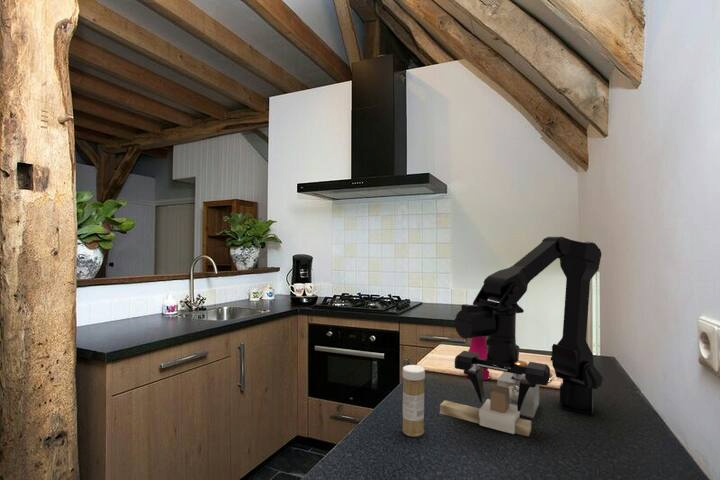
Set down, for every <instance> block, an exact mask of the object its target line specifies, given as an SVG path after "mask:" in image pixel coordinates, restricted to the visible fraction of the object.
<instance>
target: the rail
mask: <svg viewBox="0 0 720 480" xmlns="http://www.w3.org/2000/svg"><path fill="white" fill-rule="evenodd" d="M479 409H480V408H479V407H476V406H470V405H466V404H461V403H457V402H453V401H450V400H445V399H444V400H443V402H441V403H440V404H439V414H440V415H444V416H448V417H451V418H456V419H460V420H463V421H468V422H471V423H475V424H479V425H480V417H479ZM531 432H532V420H529V419H524V418H520V417H519V418H517V420H516V422H515V433H514V434H518V435H521V436H525V437H530V434H531Z"/></svg>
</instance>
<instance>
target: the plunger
mask: <svg viewBox="0 0 720 480" xmlns="http://www.w3.org/2000/svg"><path fill="white" fill-rule="evenodd" d="M515 364H517V365H523V366H527V364H528V362H526V361H523V360H518V361H517V362H515ZM522 378H523V377H522V375H520V374H514V373H513V379H514V380H519V381H521V380H522Z"/></svg>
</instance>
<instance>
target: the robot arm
mask: <svg viewBox="0 0 720 480" xmlns="http://www.w3.org/2000/svg"><path fill="white" fill-rule="evenodd" d="M601 258H602V250H601V248H600V247H598V244H596V243H595V242H591V241H583V242H582V241H578V240H573V239H570V238H567V237H564V236H546V237H545V238H543V239H542V241H541V242H540V243H539V244H538V245H537V246H535V247H533V248H532V250H531V251H529V252H528V253H526V254H525V255H524V256H523V257H522V258H520V259H519V260H518V261H516V262H515V263H514V264H513V265H511V266H510V267H507V268H504V269H500V270H497V271H496V272H494V273H491V274H490V275H488V276H487V277H486V278H485V279H484V281H483V285H482V287H481V288H480V290H479V291H478V293H477V295H476V297H475V299H474V300H473V302H472V304H466V303H465V304H461V309H460V311H458V312H457V313H456V316H455V319H454V327H455V331H456V333H457V335H458V336H459V337H460V338H461V339H465V340H466V339H472V338H476V337H484V336H486V350H487V359H482V358H479V354H478V353H475V352H469V350H462V351H461V352H460V353H459V354H457V355H456V356H455V357H454V369H456V370H461V371H463V374H464V375H466V376H467V375H468V376H469V377H468V376H467V377H468V378H469V380H470V381H471V384H472V385H473V387H474V390H475V393H476V396H477V397H478V400H479V402H480V403H481V404H484V401H485V400H484V399H485V391H484V390H485V389H484V380H483V368H487V370H494V371H497V372H498V371H499V372H502V373H503V372H509V373H514V374H520V375H522V377H523V378H522V380H521V381H520V384H519V394H518V403H517V409H518V411H519V412H520V410H521V407H522V404H523V402H524V399H525V396H526V394H527V391H528V389H529V388H530V387H533V388H534V387H536V385H537V384H538V385H539V386H547V385H548V384H549V383H548V381H549V378H550V372H551V368H550V366H549V365H548V364H546V363H542V362H541V363H539V362H535V361H529V362H528V363H527V364H528V365H527V366H523V365H517V364H515V362H517V361H518V360H519V358H520V357H519V356H520V346H519V345H518V344H517V343H516V342H517V338H516V333H517V332H516V326H517V325H516V321H517V320H516V319H517V318H516V317H517V314H522V313H523V314H524V312H525V310H524V309H523V308H522V307H521V306H520V305H519V304H518V303H519V301H520V300H521V299H522V298H523V296H524V295H525V294H526V293H527V291H528V285H529V283H531V281H533V280H534V279H535V278H536V277H537V276H538V275H539V274H541V273H542V272H543V271H544V270H545V269H547V268H548V266H550V265H552V263H554V261H556V260H557V259H559V265H560V268H561V270H562V272H563V275H564V276H565V279H566V281H565V294H564V311H563V321H562V323H563V325H562V337H561V338H560V340H559V341H558V342H557V344H556V343H553V344H552V346H551V356H550V361H551V363H552V364H551V365H552V368H553V370H554V373H555V377H556V378H559V379H561V380H562V383H560V385H559V403H560V404H561V406H560V408H561V409H563V410H568V411H572V412H577V413H581V414H585V415H593V414H594V408H595V407H594V390H598V389H599V387H601V386H602V383H603V380H604V378H603V376H602V375H601V373H600V372H599V371H598V369H597V368H596V367H595V366H594V355H593V352H592V350H591V348H590V346H589V344H588V342H587V333H588V331H587V330H588V320H589V319H588V318H589V302H590V301H589V300H590V289H591V280H593V277H594V276H595V275H596V273H597V272H598V271H599V268H600V264H601Z"/></svg>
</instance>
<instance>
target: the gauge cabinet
mask: <svg viewBox="0 0 720 480" xmlns="http://www.w3.org/2000/svg"><path fill="white" fill-rule="evenodd" d="M496 381H497V384H496V386H501V387H506V388H509V404H512V405H517V403H518V394H519V384H520V381H519V380H514V379H513V373H509V372H503V371H502V373H501V374H500V376H499V377H498V379H497V380H496ZM539 407H540V385H538V384H537V385H536V387H534V388H533V387H530V388H529V389H528V391H527V394H526V396H525V399H524V402H523V404H522V407H521V410H520V414H519V416H522V417H523V416H524V417H527V418H531V419H534V418H535V415H536V413H537V411H538V409H539Z"/></svg>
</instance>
